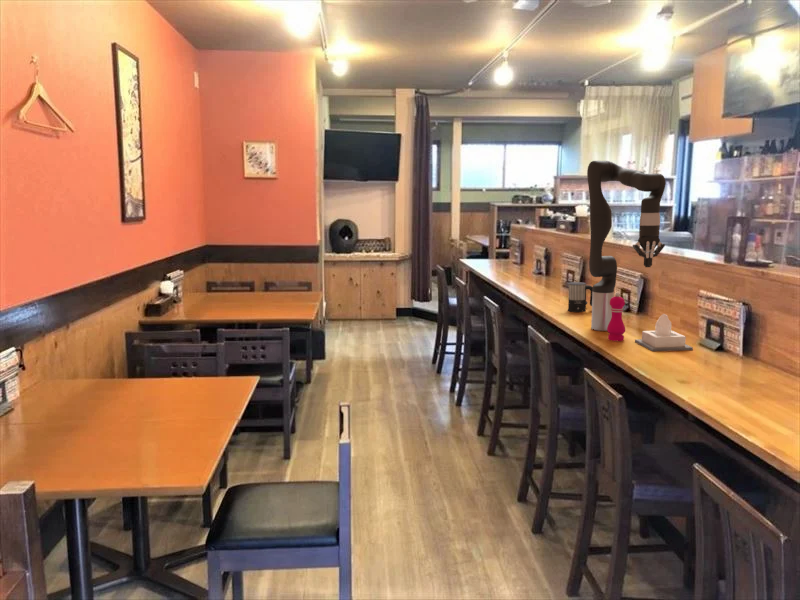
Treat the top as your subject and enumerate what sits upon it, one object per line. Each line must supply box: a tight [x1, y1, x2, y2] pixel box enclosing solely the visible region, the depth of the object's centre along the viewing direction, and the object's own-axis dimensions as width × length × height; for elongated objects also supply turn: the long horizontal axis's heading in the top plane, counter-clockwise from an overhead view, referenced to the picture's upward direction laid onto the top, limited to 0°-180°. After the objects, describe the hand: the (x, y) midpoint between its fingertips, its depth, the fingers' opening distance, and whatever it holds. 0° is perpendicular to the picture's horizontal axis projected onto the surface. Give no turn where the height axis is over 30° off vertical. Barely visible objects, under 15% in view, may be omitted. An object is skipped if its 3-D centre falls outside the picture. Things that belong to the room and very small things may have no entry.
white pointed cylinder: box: [654, 313, 672, 336], centre depth 247 cm, size 6×12×6 cm
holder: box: [634, 329, 694, 352], centre depth 247 cm, size 16×16×5 cm
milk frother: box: [567, 281, 593, 313], centre depth 329 cm, size 14×16×15 cm
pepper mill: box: [606, 292, 626, 342], centre depth 258 cm, size 7×7×20 cm
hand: (647, 267), depth 250 cm, fingers closed
